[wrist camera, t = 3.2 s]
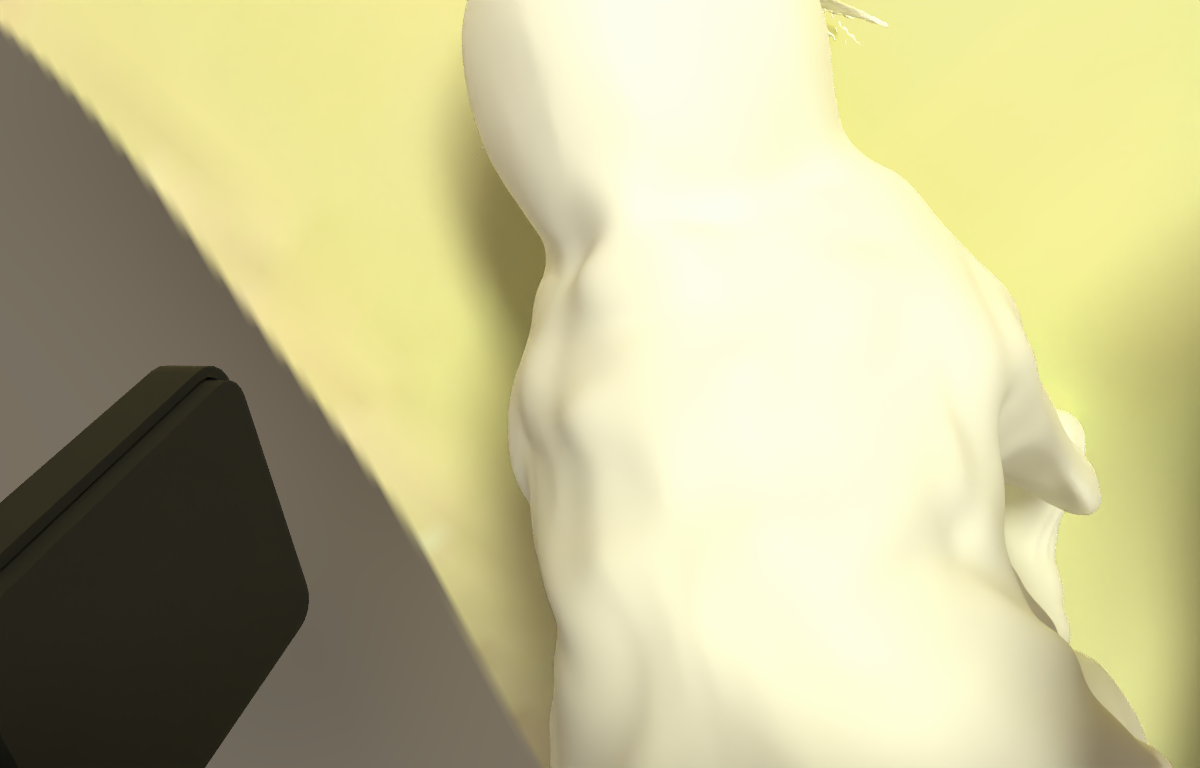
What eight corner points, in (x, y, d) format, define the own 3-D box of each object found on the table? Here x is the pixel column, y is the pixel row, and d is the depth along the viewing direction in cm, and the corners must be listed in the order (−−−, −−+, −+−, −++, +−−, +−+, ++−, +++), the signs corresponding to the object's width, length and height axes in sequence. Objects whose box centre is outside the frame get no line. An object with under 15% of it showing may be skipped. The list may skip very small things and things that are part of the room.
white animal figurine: (586, 1213, 12) (-48, 77, 8) (742, 681, 19) (444, -34, 15) (1291, 1263, 9) (803, -379, 6) (1153, 623, 16) (907, -250, 13)
